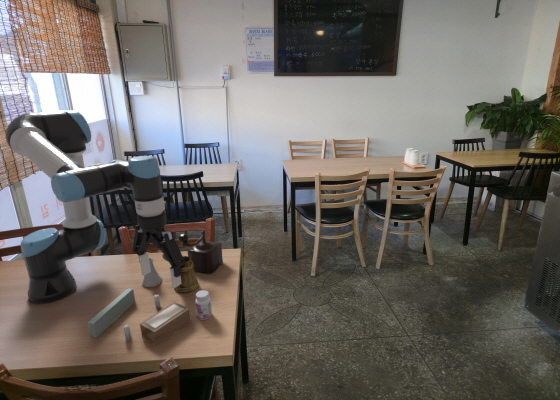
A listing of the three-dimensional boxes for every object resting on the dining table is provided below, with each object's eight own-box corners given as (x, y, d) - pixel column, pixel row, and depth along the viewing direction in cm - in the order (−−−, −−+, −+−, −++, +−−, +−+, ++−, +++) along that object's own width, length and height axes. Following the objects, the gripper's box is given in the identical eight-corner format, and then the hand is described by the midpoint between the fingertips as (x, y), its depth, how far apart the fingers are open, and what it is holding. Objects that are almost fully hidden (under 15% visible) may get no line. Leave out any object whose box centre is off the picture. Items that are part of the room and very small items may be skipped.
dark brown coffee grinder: (200, 259, 152) (196, 220, 146) (223, 262, 148) (220, 223, 143) (180, 277, 138) (175, 235, 132) (205, 281, 134) (201, 238, 129)
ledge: (91, 336, 106) (87, 322, 105) (130, 300, 124) (128, 288, 122) (127, 342, 103) (125, 328, 102) (162, 304, 121) (160, 292, 119)
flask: (165, 278, 138) (161, 255, 134) (157, 288, 131) (153, 264, 128) (147, 277, 138) (143, 254, 135) (138, 287, 131) (134, 264, 128)
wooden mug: (160, 297, 125) (153, 252, 119) (183, 278, 137) (178, 236, 131) (182, 302, 122) (175, 255, 116) (203, 282, 134) (198, 239, 128)
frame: (142, 337, 106) (139, 323, 104) (176, 314, 116) (174, 301, 114) (156, 346, 102) (154, 331, 100) (190, 322, 112) (189, 308, 110)
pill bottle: (195, 320, 112) (192, 297, 110) (199, 311, 117) (196, 289, 114) (209, 320, 112) (207, 298, 109) (213, 311, 117) (211, 289, 114)
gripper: (112, 209, 101) (124, 274, 107) (170, 225, 88) (180, 297, 94) (134, 201, 107) (145, 263, 113) (192, 215, 94) (200, 284, 100)
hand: (161, 279), depth 104 cm, fingers open, 13 cm apart
